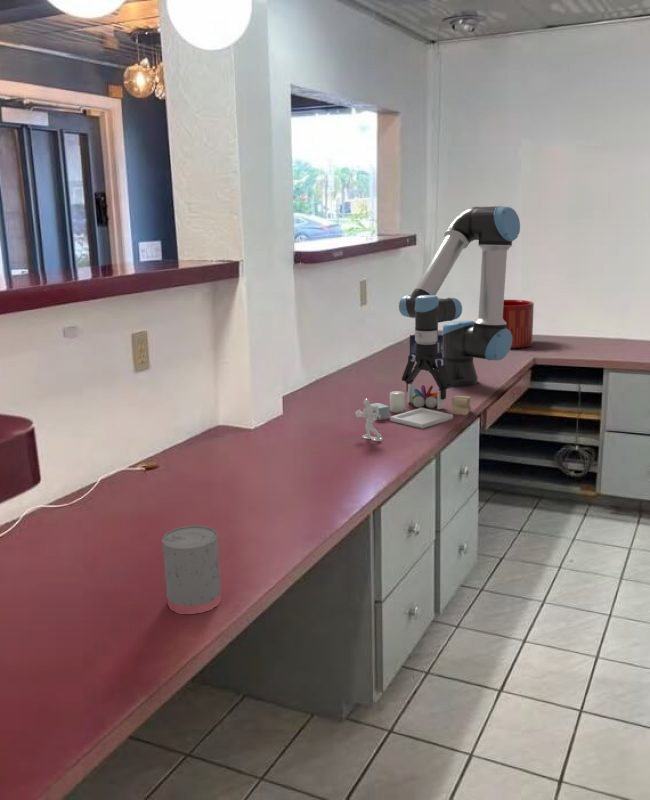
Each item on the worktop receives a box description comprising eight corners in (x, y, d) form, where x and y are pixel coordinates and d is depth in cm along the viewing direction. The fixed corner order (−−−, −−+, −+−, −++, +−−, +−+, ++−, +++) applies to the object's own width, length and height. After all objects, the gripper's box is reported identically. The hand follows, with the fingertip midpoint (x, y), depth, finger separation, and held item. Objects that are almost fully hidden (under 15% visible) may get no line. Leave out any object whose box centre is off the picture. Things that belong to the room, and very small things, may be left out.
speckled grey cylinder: (193, 583, 145) (189, 521, 142) (233, 597, 140) (229, 533, 137) (155, 605, 137) (150, 540, 134) (195, 620, 132) (190, 553, 129)
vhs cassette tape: (409, 358, 346) (409, 335, 344) (409, 356, 349) (409, 334, 346) (451, 358, 344) (451, 335, 341) (451, 356, 347) (451, 334, 344)
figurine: (379, 442, 226) (378, 402, 223) (351, 438, 231) (350, 398, 228) (386, 438, 230) (386, 398, 227) (359, 434, 235) (358, 395, 232)
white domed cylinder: (396, 407, 264) (396, 390, 262) (408, 410, 260) (408, 392, 259) (386, 410, 260) (386, 393, 259) (397, 413, 257) (397, 395, 255)
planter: (475, 342, 379) (476, 300, 374) (521, 340, 382) (523, 298, 377) (490, 350, 357) (492, 306, 352) (539, 348, 359) (541, 304, 354)
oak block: (455, 410, 259) (456, 395, 258) (470, 411, 257) (470, 396, 256) (451, 413, 255) (451, 398, 254) (465, 415, 253) (466, 400, 251)
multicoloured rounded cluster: (439, 409, 260) (439, 388, 259) (409, 408, 262) (410, 387, 261) (440, 403, 269) (440, 382, 267) (412, 402, 270) (412, 382, 269)
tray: (421, 411, 258) (421, 407, 257) (452, 418, 249) (452, 414, 248) (390, 420, 248) (390, 416, 248) (421, 428, 239) (422, 424, 238)
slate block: (378, 414, 256) (378, 402, 256) (389, 418, 252) (389, 406, 251) (368, 416, 254) (368, 404, 254) (379, 420, 250) (379, 408, 249)
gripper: (391, 339, 266) (391, 401, 271) (448, 348, 249) (447, 413, 254) (406, 337, 271) (405, 397, 276) (463, 345, 254) (461, 409, 259)
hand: (425, 405), depth 265 cm, fingers open, 12 cm apart
